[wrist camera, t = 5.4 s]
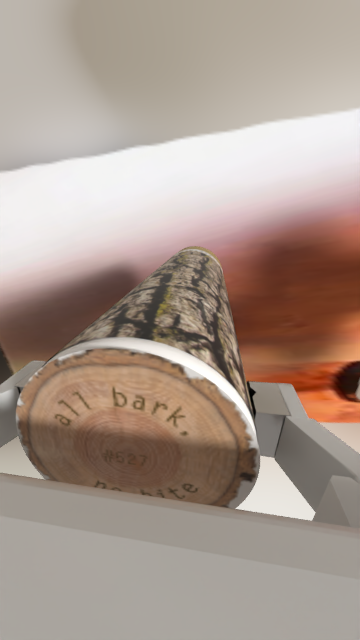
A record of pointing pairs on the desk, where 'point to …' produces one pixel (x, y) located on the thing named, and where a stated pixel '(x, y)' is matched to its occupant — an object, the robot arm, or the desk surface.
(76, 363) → the paper tube
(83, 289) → the desk surface
